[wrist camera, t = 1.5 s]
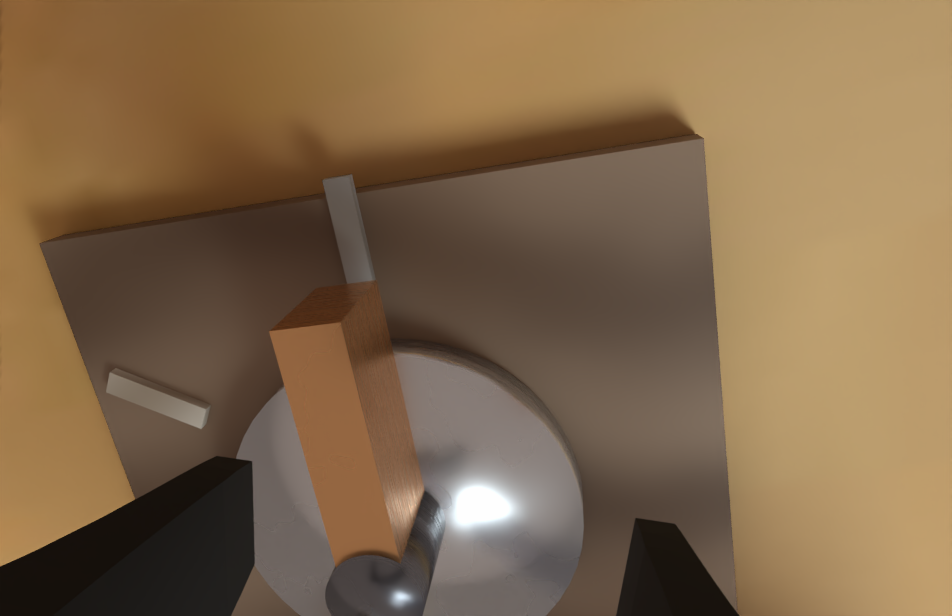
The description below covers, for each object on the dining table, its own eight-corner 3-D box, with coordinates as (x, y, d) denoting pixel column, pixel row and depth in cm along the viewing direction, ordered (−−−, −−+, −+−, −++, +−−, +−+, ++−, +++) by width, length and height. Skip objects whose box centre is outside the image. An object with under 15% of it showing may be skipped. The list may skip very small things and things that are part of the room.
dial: (602, 622, 22) (610, 754, 18) (296, 636, 23) (238, 759, 19) (546, 244, 18) (540, 300, 14) (188, 293, 20) (87, 356, 16)
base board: (737, 688, 23) (747, 723, 22) (233, 703, 26) (217, 734, 25) (695, 113, 18) (704, 117, 16) (57, 218, 21) (24, 228, 19)
